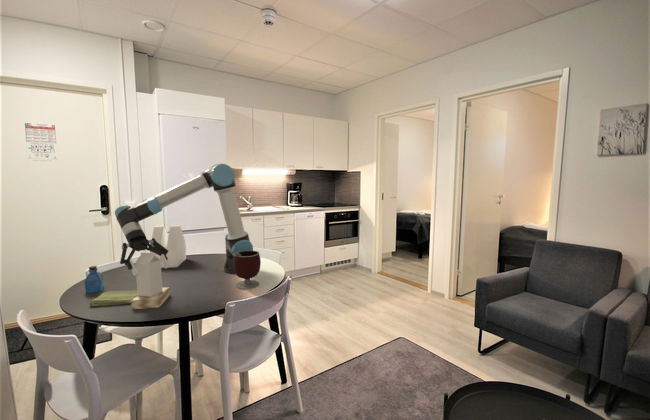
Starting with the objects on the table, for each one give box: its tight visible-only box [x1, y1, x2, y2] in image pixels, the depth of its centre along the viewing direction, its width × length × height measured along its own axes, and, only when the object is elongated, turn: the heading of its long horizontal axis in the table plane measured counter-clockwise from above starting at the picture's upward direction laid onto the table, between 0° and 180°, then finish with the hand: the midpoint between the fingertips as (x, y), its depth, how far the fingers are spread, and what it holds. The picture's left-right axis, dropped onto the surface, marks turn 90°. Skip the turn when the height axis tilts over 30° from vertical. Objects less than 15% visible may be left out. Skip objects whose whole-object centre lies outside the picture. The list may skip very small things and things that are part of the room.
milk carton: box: [134, 251, 163, 297], centre depth 138 cm, size 7×7×19 cm
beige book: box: [131, 286, 171, 310], centre depth 139 cm, size 11×14×4 cm
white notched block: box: [149, 225, 187, 269], centre depth 200 cm, size 19×15×25 cm
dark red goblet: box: [231, 250, 262, 290], centre depth 159 cm, size 16×14×20 cm
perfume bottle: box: [84, 265, 104, 294], centre depth 153 cm, size 6×6×12 cm
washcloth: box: [89, 289, 138, 307], centre depth 142 cm, size 13×18×3 cm
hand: (152, 270), depth 137 cm, fingers open, 13 cm apart
